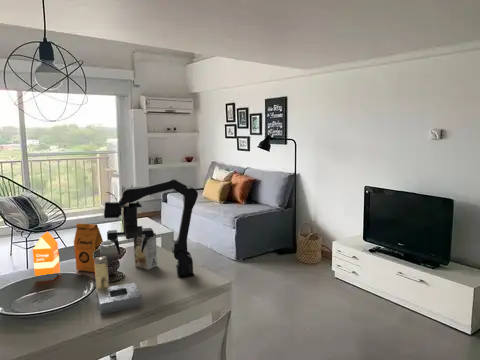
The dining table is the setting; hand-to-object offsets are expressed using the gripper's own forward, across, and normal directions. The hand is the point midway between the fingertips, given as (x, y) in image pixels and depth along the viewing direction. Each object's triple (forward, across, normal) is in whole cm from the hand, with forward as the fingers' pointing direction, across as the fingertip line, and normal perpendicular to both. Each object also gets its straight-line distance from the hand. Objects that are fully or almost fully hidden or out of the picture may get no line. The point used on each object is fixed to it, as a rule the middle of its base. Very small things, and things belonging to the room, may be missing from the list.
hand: (130, 253), depth 162 cm
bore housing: (+12, -6, -20) cm, 24 cm away
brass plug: (+13, -12, -7) cm, 19 cm away
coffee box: (+12, +8, +16) cm, 21 cm away
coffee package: (+13, -16, +21) cm, 30 cm away
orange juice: (+14, -34, +18) cm, 41 cm away
